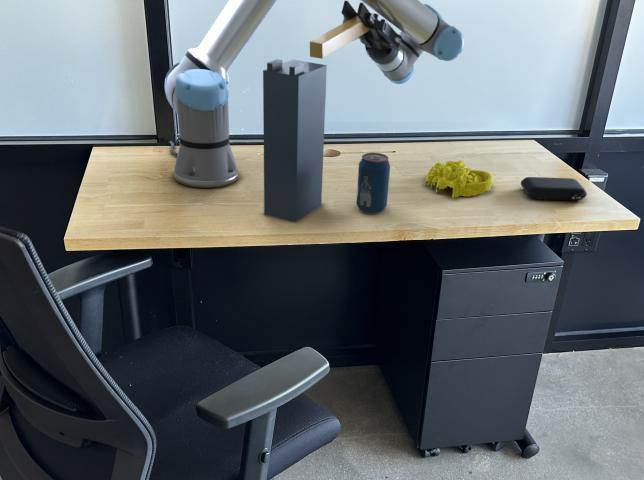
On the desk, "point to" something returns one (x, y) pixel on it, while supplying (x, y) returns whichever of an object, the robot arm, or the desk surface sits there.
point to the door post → (293, 137)
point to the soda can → (373, 183)
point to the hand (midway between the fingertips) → (352, 8)
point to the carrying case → (553, 188)
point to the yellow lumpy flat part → (459, 178)
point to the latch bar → (337, 38)
